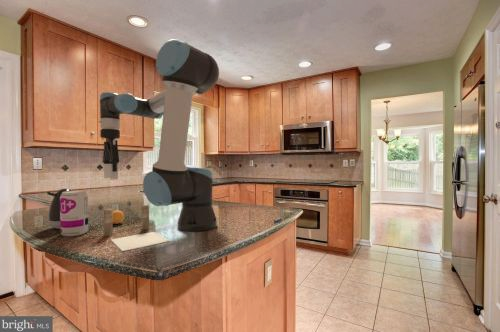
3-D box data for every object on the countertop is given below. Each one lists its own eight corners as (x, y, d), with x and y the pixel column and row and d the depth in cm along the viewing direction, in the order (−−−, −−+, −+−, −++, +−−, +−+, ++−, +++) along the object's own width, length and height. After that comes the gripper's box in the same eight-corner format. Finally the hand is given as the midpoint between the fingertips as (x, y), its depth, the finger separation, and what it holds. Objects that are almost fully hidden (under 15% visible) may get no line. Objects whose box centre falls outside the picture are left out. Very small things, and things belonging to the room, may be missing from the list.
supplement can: (74, 237, 85) (73, 193, 85) (54, 236, 87) (53, 192, 87) (93, 231, 93) (93, 190, 93) (75, 229, 95) (74, 190, 95)
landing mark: (169, 241, 81) (169, 240, 81) (122, 251, 72) (122, 250, 72) (153, 232, 91) (153, 231, 91) (110, 240, 82) (110, 239, 82)
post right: (150, 228, 96) (149, 205, 96) (143, 230, 94) (142, 206, 94) (147, 227, 98) (147, 204, 98) (140, 228, 96) (140, 205, 96)
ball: (125, 223, 104) (125, 210, 104) (111, 226, 100) (110, 212, 100) (122, 221, 108) (122, 208, 108) (107, 223, 105) (107, 210, 105)
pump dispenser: (46, 227, 99) (45, 188, 99) (78, 222, 106) (77, 186, 106) (48, 232, 91) (48, 190, 91) (82, 227, 98) (82, 188, 98)
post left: (113, 235, 88) (113, 209, 88) (105, 236, 86) (104, 210, 86) (111, 233, 90) (111, 208, 90) (103, 234, 88) (103, 209, 88)
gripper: (95, 131, 117) (95, 177, 118) (106, 125, 99) (107, 180, 100) (113, 132, 122) (113, 177, 123) (127, 127, 104) (127, 179, 105)
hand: (110, 178), depth 111 cm, fingers open, 11 cm apart
